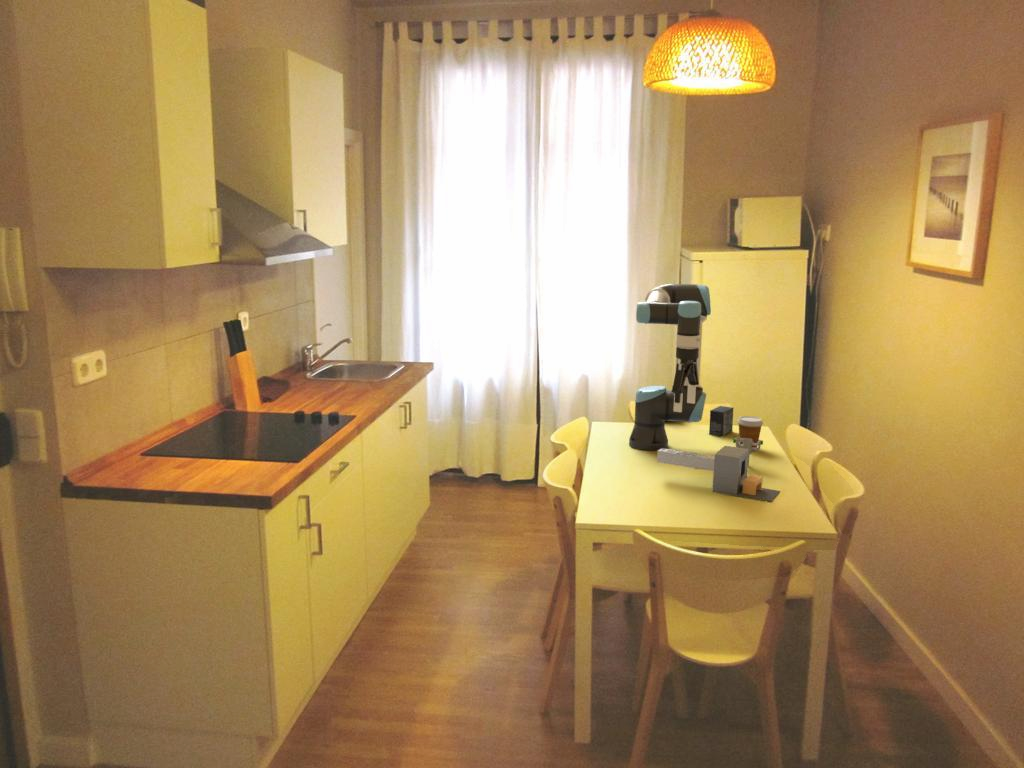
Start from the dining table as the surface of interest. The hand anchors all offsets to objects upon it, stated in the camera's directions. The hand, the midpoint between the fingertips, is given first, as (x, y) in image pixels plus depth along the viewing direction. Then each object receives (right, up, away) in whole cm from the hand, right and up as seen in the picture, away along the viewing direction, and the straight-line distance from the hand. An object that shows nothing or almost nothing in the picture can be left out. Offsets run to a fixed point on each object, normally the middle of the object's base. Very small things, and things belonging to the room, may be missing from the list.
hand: (684, 407), depth 293 cm
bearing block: (+13, -27, -12) cm, 32 cm away
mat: (+20, -28, -16) cm, 38 cm away
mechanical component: (+25, -22, +15) cm, 37 cm away
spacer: (+19, -27, -15) cm, 36 cm away
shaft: (+2, -20, -8) cm, 21 cm away
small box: (+27, -13, +60) cm, 67 cm away
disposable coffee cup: (+32, -17, +37) cm, 52 cm away
